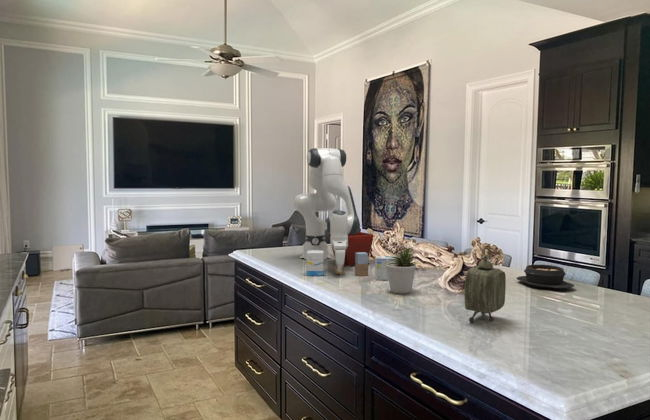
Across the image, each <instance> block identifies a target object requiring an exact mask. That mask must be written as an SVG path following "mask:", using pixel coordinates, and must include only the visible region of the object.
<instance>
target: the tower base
mask: <svg viewBox="0 0 650 420" xmlns="http://www.w3.org/2000/svg"><path fill="white" fill-rule="evenodd" d="M354 274H356V275H355V277H369V263H368V264H357V263H355V265H354Z"/></svg>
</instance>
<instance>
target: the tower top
mask: <svg viewBox="0 0 650 420" xmlns="http://www.w3.org/2000/svg"><path fill="white" fill-rule="evenodd" d="M355 263H357V264H368V265H369V257H368V254H367V253H365V252H357V253H355Z"/></svg>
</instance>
